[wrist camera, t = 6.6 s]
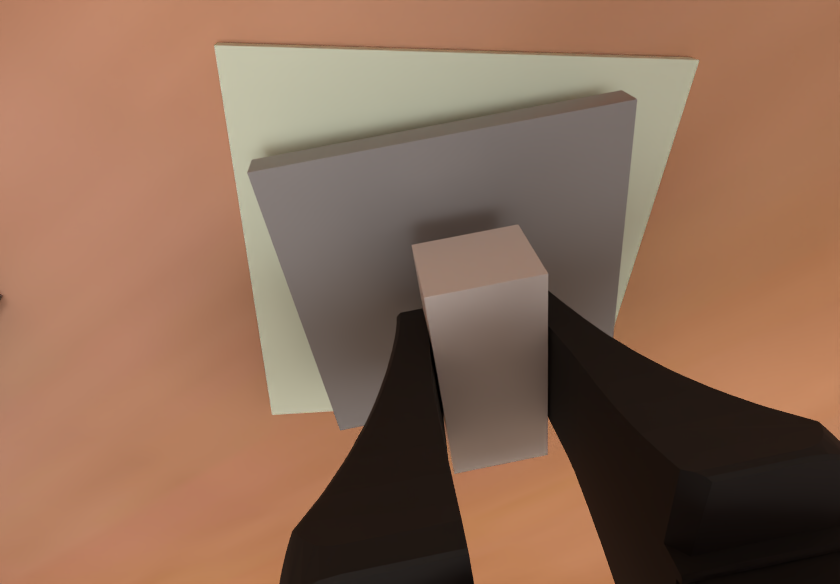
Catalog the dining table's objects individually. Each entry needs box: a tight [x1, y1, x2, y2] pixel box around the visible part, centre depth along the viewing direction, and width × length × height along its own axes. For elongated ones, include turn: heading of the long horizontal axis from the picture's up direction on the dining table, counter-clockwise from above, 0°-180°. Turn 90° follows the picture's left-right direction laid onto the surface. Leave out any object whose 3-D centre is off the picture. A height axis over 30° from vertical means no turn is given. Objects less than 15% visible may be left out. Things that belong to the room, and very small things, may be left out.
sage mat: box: [214, 42, 699, 415], centre depth 16 cm, size 12×12×1 cm
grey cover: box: [247, 90, 637, 474], centre depth 13 cm, size 9×9×4 cm
